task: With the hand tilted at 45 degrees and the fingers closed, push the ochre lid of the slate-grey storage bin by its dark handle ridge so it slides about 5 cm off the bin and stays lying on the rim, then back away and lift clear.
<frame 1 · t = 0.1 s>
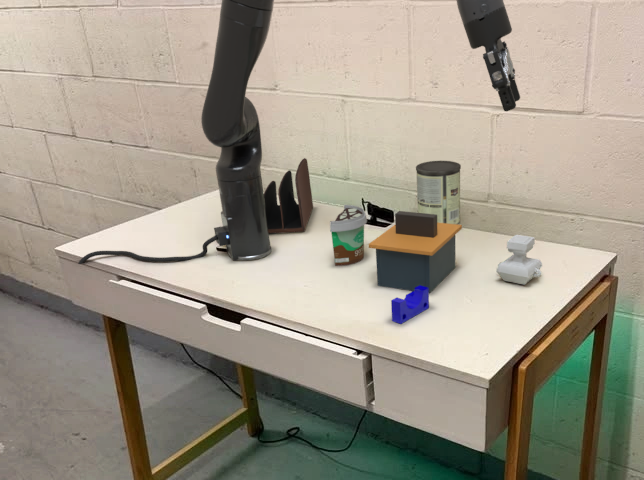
hand: (512, 105, 126), 31 cm above the table, tool tilted 20°, fingers open, 8 cm apart
cable holder: (407, 314, 125), on the table
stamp: (518, 281, 135), on the table
letter holder: (289, 221, 175), on the table
lid: (416, 238, 135), point 8 cm above the table, touching bin
coffee can: (438, 225, 167), on the table
food container: (354, 259, 150), on the table
bin: (417, 276, 139), on the table
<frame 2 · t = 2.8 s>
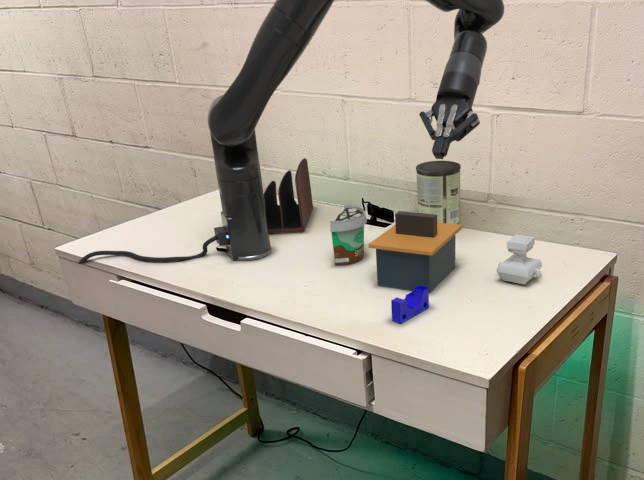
hand: (438, 156, 138), 21 cm above the table, tool tilted 45°, fingers closed
nothing on the table moved.
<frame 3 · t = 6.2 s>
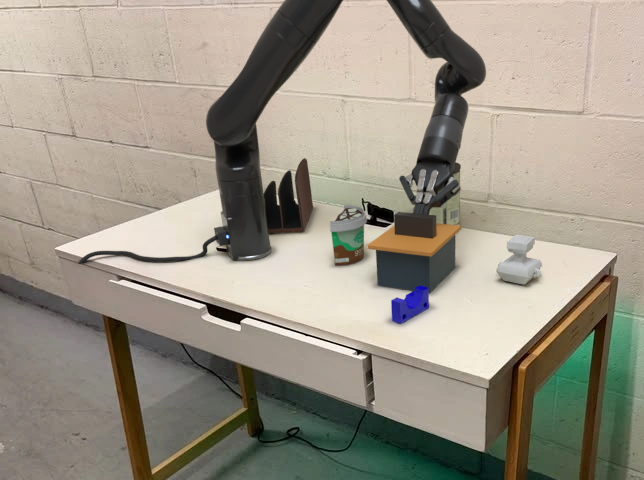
hand: (418, 223, 135), 11 cm above the table, tool tilted 45°, fingers closed
lid: (415, 238, 135), point 8 cm above the table, touching gripper
everything else where it was.
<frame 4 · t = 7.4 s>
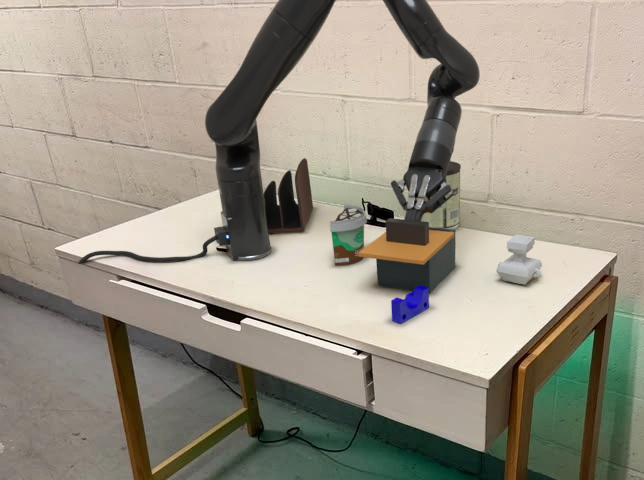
hand: (410, 229, 132), 11 cm above the table, tool tilted 45°, fingers closed
lid: (407, 246, 132), point 8 cm above the table, touching bin, gripper
everything else where it was.
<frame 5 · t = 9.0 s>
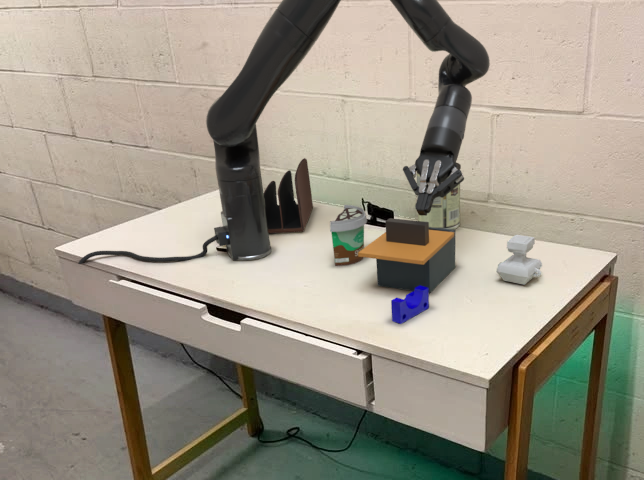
hand: (421, 213, 136), 12 cm above the table, tool tilted 45°, fingers closed
lid: (407, 246, 132), point 8 cm above the table, touching bin
everything else where it was.
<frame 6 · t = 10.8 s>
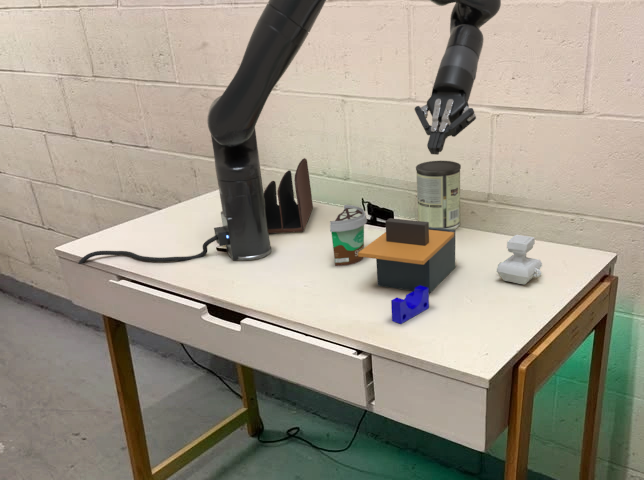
hand: (433, 152, 136), 22 cm above the table, tool tilted 45°, fingers closed
nothing on the table moved.
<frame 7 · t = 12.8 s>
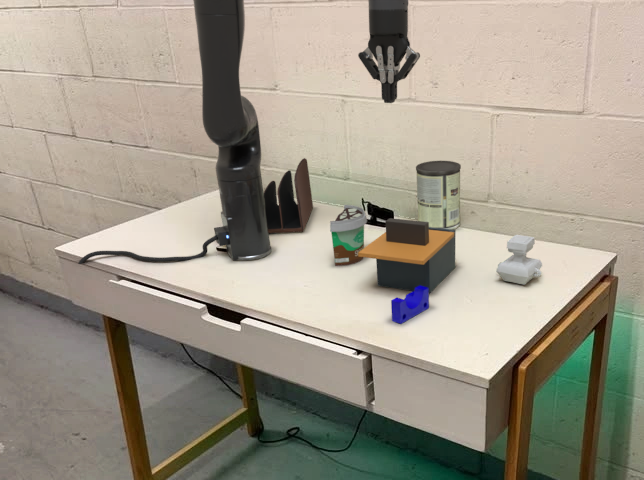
hand: (389, 102, 141), 30 cm above the table, tool pointing down, fingers closed
nothing on the table moved.
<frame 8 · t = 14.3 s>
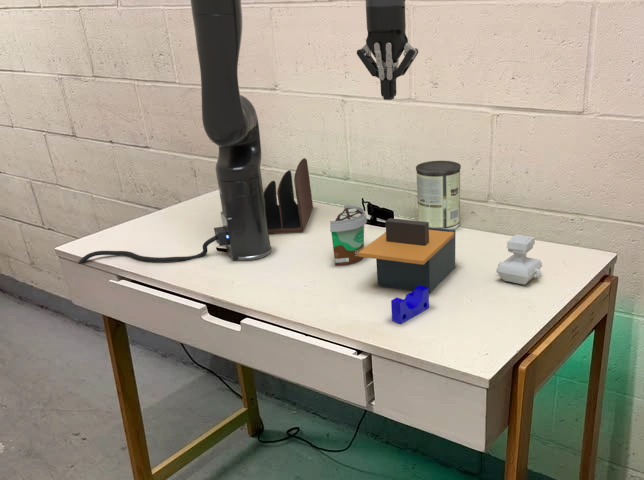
hand: (389, 99, 141), 31 cm above the table, tool pointing down, fingers closed
nothing on the table moved.
at the end: lid 0.1 cm from the target spot on the bin, point 8.0 cm above the bin's base; lid tilted 0°; lid moved 4.6 cm from its start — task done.
